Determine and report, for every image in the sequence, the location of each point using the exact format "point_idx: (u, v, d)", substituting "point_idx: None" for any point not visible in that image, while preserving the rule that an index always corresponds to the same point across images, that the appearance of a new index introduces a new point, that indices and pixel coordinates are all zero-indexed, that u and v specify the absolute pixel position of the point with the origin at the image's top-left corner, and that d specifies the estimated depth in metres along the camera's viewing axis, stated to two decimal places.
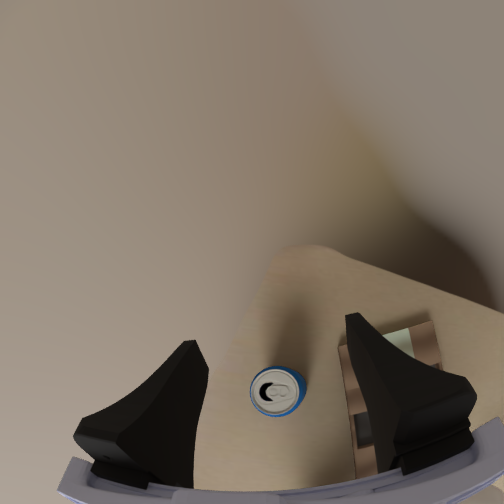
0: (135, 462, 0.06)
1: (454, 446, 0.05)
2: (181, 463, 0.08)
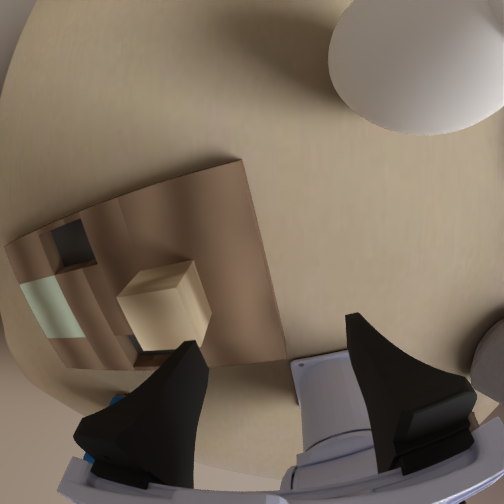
0: (135, 462, 0.06)
1: (454, 446, 0.05)
2: (181, 463, 0.08)
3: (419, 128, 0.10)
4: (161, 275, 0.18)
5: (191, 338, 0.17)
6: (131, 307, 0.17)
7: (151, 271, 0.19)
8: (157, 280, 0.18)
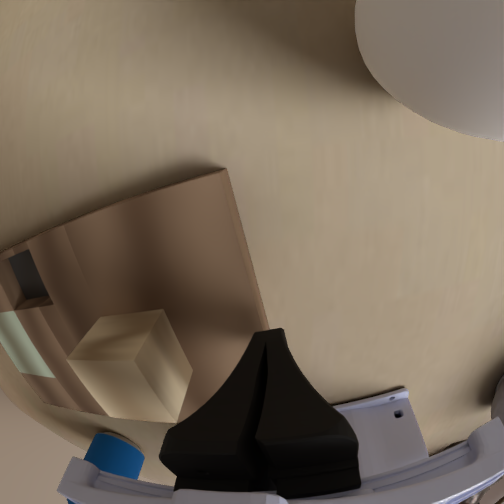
0: (247, 471, 0.06)
1: (336, 483, 0.05)
2: None
3: None
4: (120, 331, 0.13)
5: (163, 414, 0.12)
6: (85, 373, 0.11)
7: (111, 321, 0.14)
8: (114, 339, 0.12)
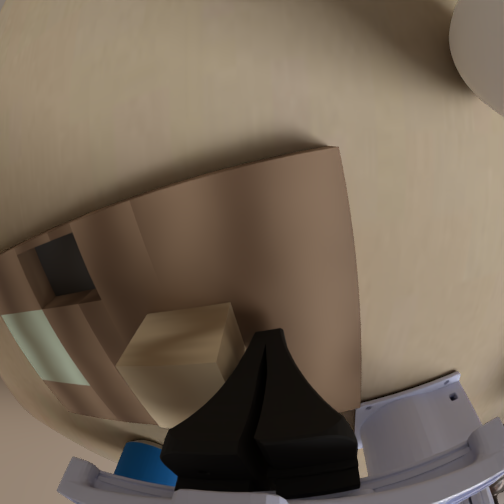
0: (248, 471, 0.06)
1: (335, 483, 0.05)
2: None
3: None
4: (183, 329, 0.12)
5: None
6: (140, 380, 0.10)
7: (165, 318, 0.13)
8: (177, 338, 0.11)
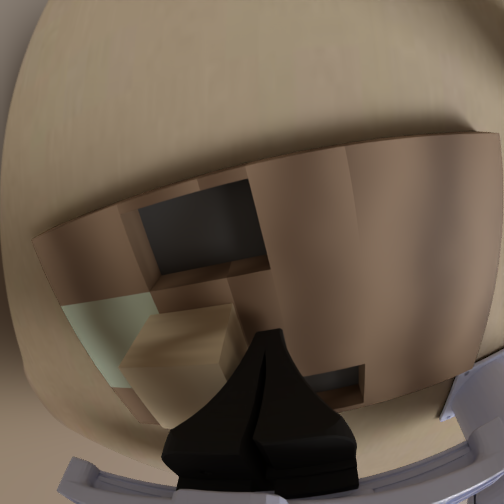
0: (250, 471, 0.06)
1: (334, 484, 0.05)
2: None
3: None
4: (185, 330, 0.12)
5: None
6: (143, 382, 0.10)
7: (168, 319, 0.13)
8: (180, 339, 0.11)
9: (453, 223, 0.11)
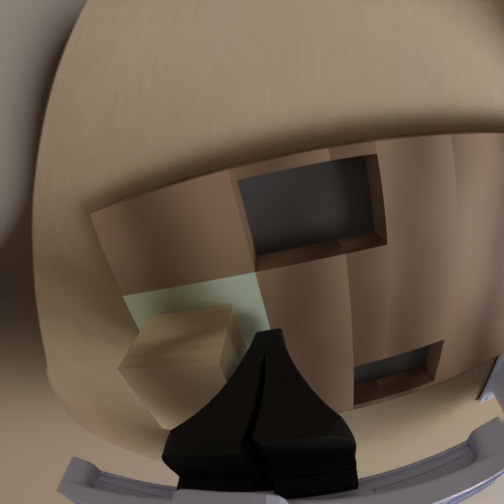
0: (251, 471, 0.06)
1: (333, 484, 0.05)
2: None
3: None
4: (185, 331, 0.12)
5: None
6: (143, 383, 0.10)
7: (167, 320, 0.13)
8: (180, 340, 0.11)
9: None
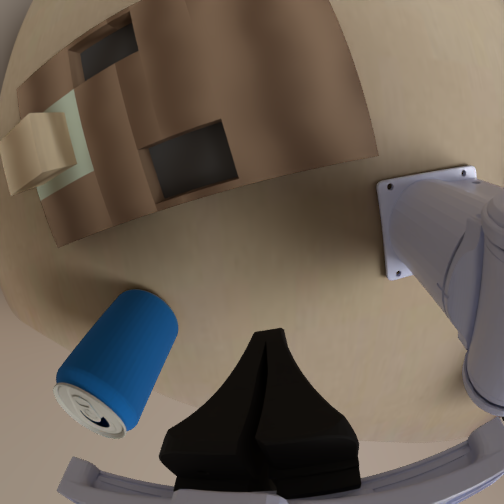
0: (247, 471, 0.06)
1: (336, 483, 0.05)
2: None
3: None
4: None
5: (36, 164, 0.14)
6: (5, 148, 0.13)
7: None
8: None
9: (268, 2, 0.12)
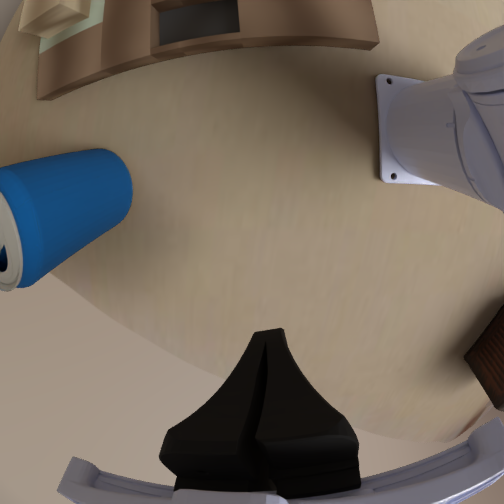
0: (247, 471, 0.06)
1: (336, 483, 0.05)
2: None
3: None
4: None
5: None
6: None
7: None
8: None
9: None
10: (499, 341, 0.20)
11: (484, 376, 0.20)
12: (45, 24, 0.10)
